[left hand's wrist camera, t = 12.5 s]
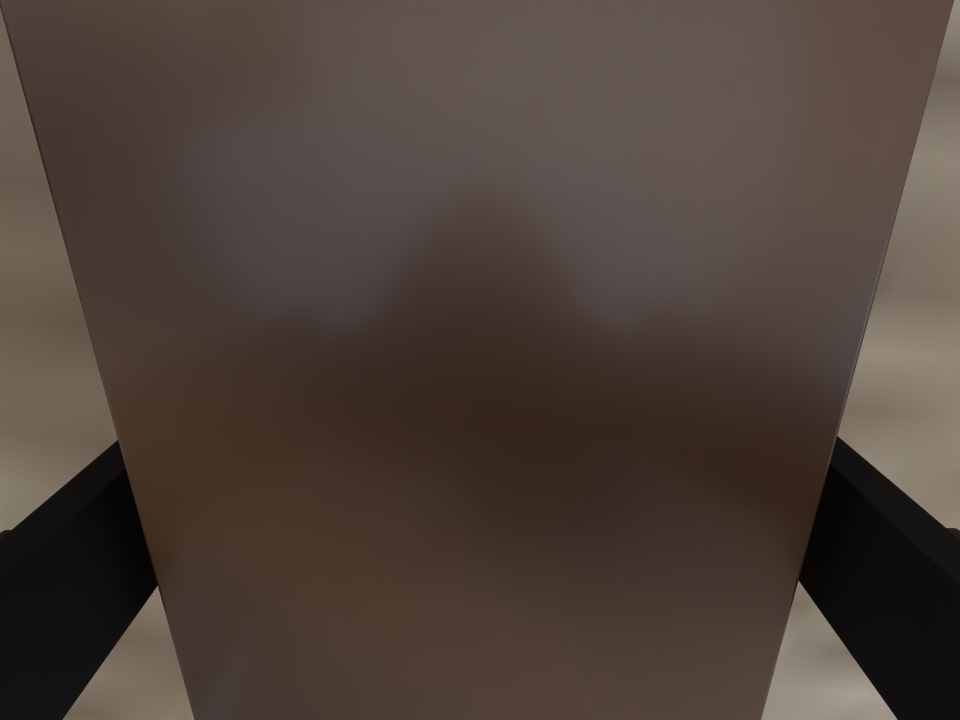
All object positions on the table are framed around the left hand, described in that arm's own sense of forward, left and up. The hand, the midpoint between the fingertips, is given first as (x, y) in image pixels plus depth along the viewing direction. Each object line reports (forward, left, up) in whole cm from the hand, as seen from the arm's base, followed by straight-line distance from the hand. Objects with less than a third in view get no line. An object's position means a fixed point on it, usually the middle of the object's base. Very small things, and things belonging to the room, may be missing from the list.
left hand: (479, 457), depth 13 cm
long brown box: (0, +5, -7) cm, 9 cm away
